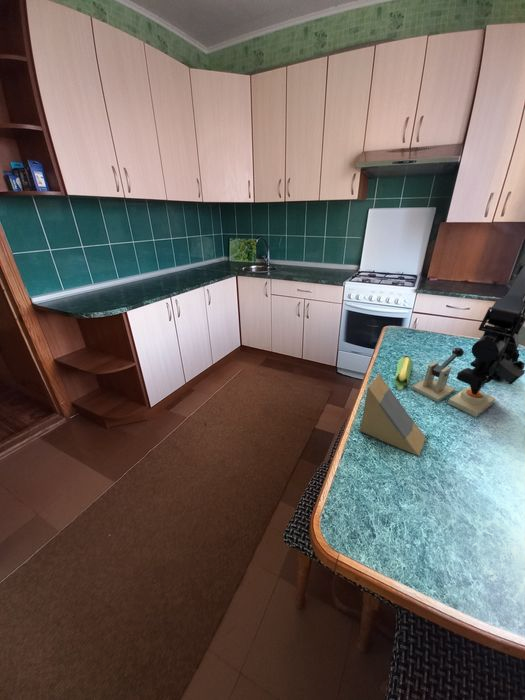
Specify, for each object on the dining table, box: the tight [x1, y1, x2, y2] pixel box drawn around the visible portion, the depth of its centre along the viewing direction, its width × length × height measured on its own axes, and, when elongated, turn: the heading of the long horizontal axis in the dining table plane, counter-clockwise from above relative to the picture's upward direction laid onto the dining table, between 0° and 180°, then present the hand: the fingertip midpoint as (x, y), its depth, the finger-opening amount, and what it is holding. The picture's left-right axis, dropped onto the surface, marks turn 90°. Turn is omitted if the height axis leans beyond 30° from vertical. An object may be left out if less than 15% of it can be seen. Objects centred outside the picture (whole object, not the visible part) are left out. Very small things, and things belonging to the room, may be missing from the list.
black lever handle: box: [432, 347, 464, 378], centre depth 96 cm, size 14×3×3 cm, turn 123°
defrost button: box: [467, 390, 481, 398], centre depth 90 cm, size 4×4×2 cm
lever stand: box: [411, 361, 456, 403], centre depth 95 cm, size 10×9×9 cm
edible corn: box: [394, 355, 414, 391], centre depth 104 cm, size 5×20×5 cm, turn 151°
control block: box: [447, 386, 497, 418], centre depth 90 cm, size 12×8×4 cm, turn 123°
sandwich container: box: [359, 373, 426, 457], centre depth 76 cm, size 9×15×15 cm, turn 52°
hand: (474, 393), depth 89 cm, fingers closed, pressing on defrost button
